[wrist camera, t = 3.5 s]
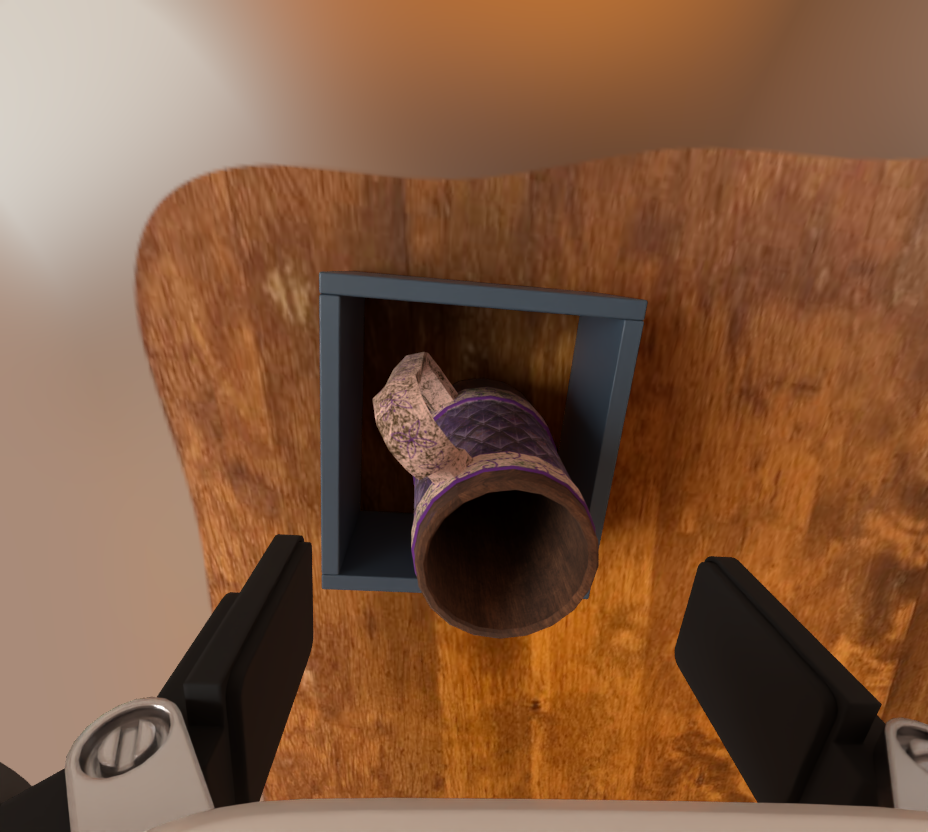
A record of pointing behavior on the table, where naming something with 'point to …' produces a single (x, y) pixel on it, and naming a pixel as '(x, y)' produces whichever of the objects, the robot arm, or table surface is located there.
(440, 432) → the mug
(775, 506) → the table surface
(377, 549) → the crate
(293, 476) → the table surface
